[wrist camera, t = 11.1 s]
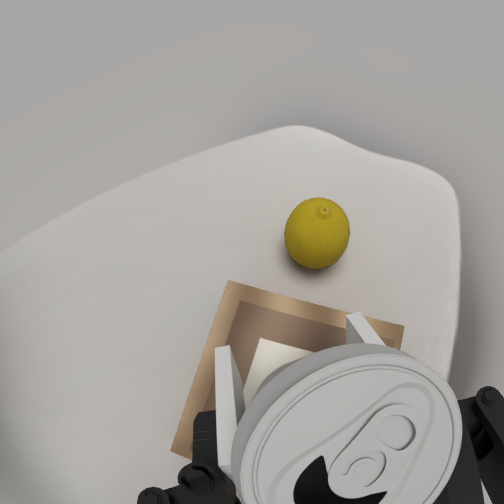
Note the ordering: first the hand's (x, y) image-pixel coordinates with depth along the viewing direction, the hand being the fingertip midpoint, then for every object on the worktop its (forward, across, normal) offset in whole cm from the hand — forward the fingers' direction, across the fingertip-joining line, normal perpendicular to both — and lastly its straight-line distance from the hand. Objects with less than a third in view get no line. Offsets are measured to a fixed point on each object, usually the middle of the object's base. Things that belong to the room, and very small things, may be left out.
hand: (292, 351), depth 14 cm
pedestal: (+5, 0, -10) cm, 11 cm away
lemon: (+14, +5, -1) cm, 15 cm away
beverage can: (0, 0, -5) cm, 5 cm away
